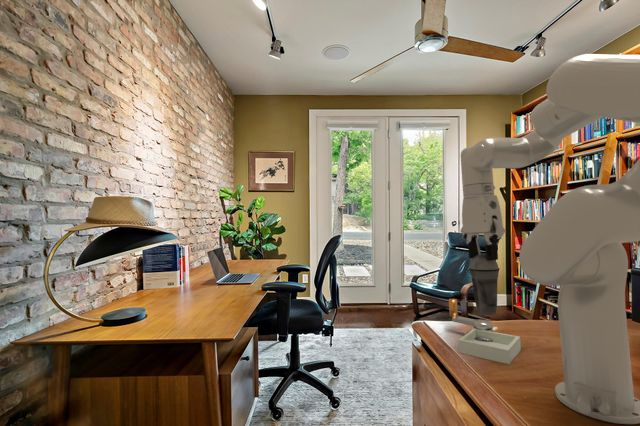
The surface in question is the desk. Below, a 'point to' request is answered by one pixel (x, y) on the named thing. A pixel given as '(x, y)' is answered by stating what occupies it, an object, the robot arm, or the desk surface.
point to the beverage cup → (484, 283)
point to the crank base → (482, 338)
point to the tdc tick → (494, 328)
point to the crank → (467, 321)
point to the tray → (490, 345)
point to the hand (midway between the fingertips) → (482, 258)
